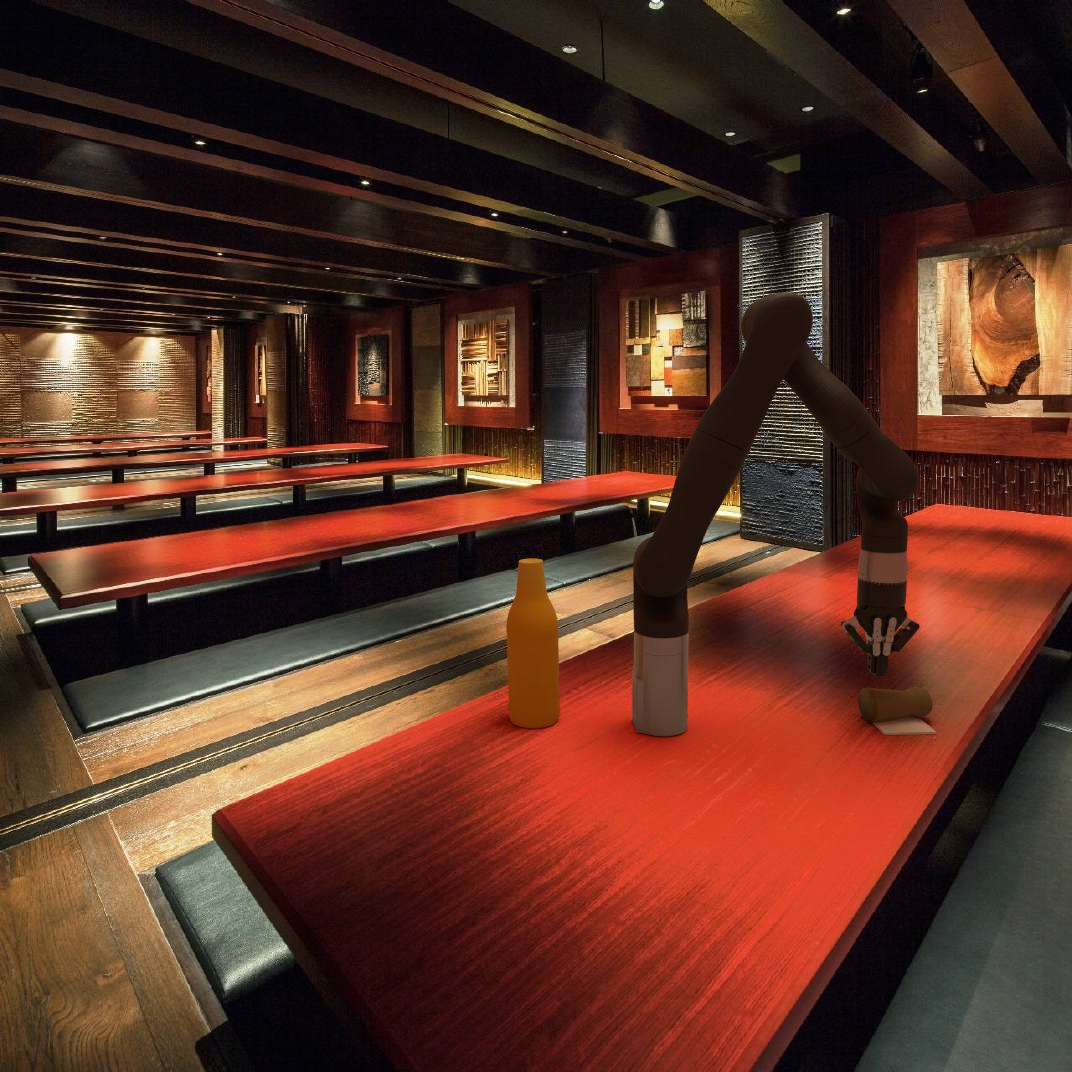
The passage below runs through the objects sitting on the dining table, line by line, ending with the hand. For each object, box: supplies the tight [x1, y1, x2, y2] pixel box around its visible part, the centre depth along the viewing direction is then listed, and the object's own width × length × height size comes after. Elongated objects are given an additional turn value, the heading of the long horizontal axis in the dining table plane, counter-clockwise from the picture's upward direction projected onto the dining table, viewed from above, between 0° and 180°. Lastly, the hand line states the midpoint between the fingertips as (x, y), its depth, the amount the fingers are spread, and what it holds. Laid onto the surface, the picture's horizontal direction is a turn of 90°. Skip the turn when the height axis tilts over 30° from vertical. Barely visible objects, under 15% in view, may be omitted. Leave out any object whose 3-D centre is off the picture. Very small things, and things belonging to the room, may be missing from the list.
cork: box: [857, 686, 933, 724], centre depth 130 cm, size 6×6×11 cm
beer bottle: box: [505, 558, 561, 729], centre depth 132 cm, size 9×9×29 cm
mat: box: [872, 715, 937, 736], centre depth 129 cm, size 8×10×1 cm
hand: (877, 674), depth 128 cm, fingers closed
